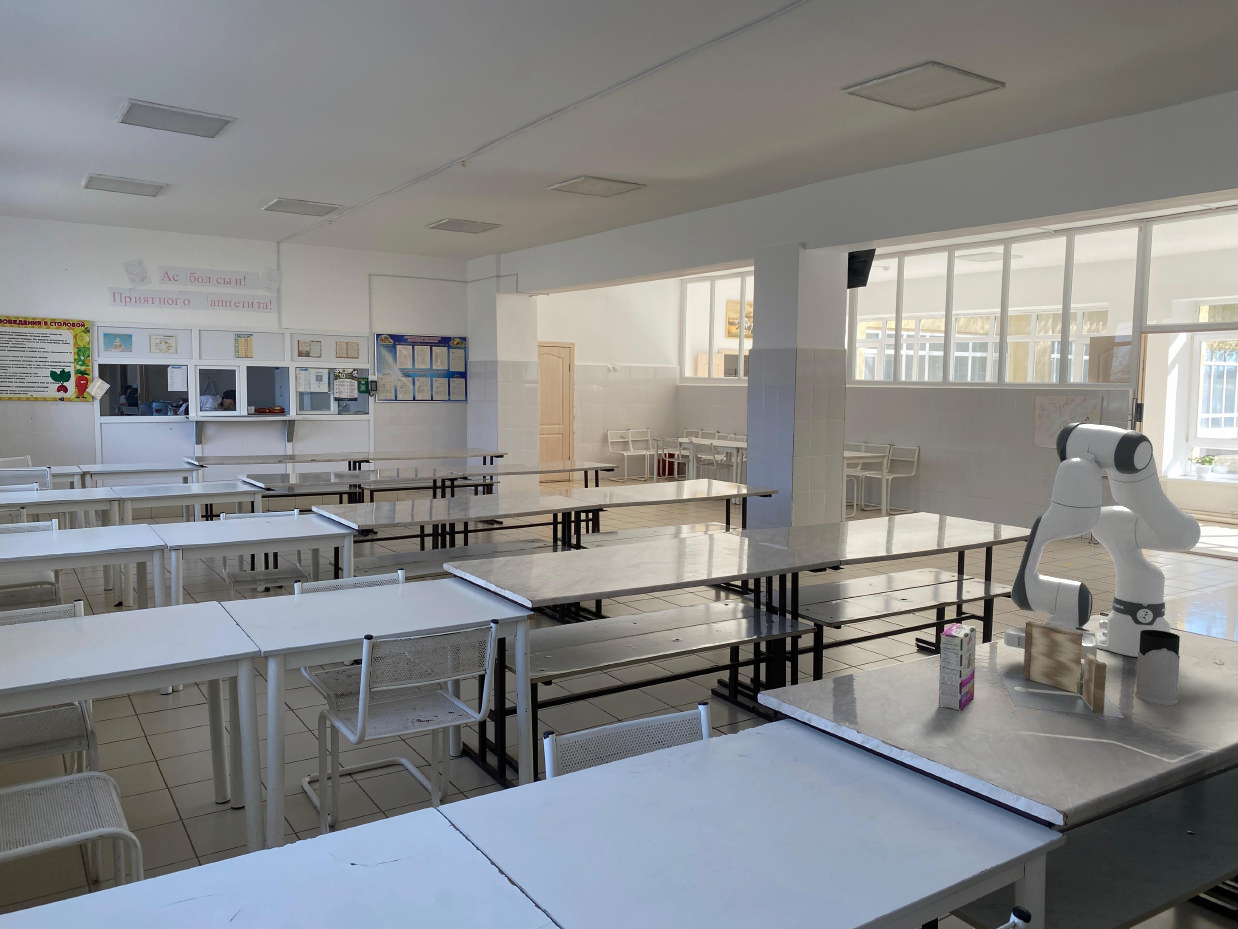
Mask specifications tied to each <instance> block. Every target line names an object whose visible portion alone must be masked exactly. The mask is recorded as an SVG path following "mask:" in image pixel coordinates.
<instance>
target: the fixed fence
mask: <svg viewBox="0 0 1238 929" xmlns="http://www.w3.org/2000/svg"><path fill="white" fill-rule="evenodd" d="M1083 660H1084V661H1083V662H1084V663H1083V679H1082V680H1083V681H1080V695H1082V696H1083V698H1084V699H1085V700H1086V701H1087V702H1088V704H1089V705H1090V706H1091V707H1092V708H1093V710H1092V711H1093V712H1094V713H1097V714H1104V699H1105V694H1106V682H1107V681H1106V677H1107V664H1106V662H1105V661H1104V662H1103V661H1102V662H1101V661H1100V660H1098V659H1097V657H1096V658H1095V657H1094V656H1093V655H1092V654H1091V653H1085V659H1083Z"/></svg>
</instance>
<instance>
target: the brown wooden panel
mask: <svg viewBox="0 0 1238 929" xmlns="http://www.w3.org/2000/svg"><path fill="white" fill-rule="evenodd" d="M1025 628H1026V630H1025V649H1024V653H1023V654H1024V655H1023V656H1024V657H1023V658H1024V659H1023V673H1022V674H1023V678H1025V679H1028V680H1033V681H1037V682H1040V683H1044V684H1047V685H1051V686H1054V687H1058V688H1061V689H1065V690H1068V691H1072V692H1075V693H1078V692H1080V680H1081V669H1082V659H1081V654H1082V637H1083V633H1079V632H1075V631H1071V630H1066V629H1062V628H1057V627H1053V626H1048V625H1044V624H1043V623H1039V622H1035V621H1026V622H1025Z"/></svg>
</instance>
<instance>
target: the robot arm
mask: <svg viewBox="0 0 1238 929" xmlns="http://www.w3.org/2000/svg"><path fill="white" fill-rule="evenodd" d="M1055 447H1056V452H1057V453H1056V454H1057V456H1058V458H1059V462H1060V464H1059V466H1058V468H1057V471H1056V474H1055V478H1054V482H1053V485H1052V486H1053V487H1052V492H1051V500H1050V501H1051V502H1050V505H1049V507H1048V509H1047V511H1046V512H1045V513H1044V514H1042V515H1038V516H1037V517H1036V519H1035V521H1034V522H1033V525H1032V526H1031V529H1030V533H1029V535H1028V539H1027V541H1026V544H1025V548H1024V551H1023V554H1022V558H1021V561H1020V565H1019V569H1018V570H1017V574H1016V577H1015V578H1014V581H1013V583H1012V584H1011V589H1010V596H1011V597H1010V598H1011V600H1012V602H1013V603H1014V604H1015V606H1017V607H1018V609H1020V610H1021V611H1027V612H1038V613H1041V614H1042V613H1043V614H1047V615H1051V616H1049V617H1047V619H1046V620H1045V621H1044V622H1043V623H1042V624H1044V625H1048V626H1053V627H1057V628H1062V629H1066V630H1071V631H1075V632H1079V633H1083V637H1082V654H1081V660H1084V659H1085V653H1091V654H1092V655H1093V656H1094V657H1095V658H1096V659H1097V654H1098V649H1101V650H1105V651H1110V652H1113V653H1116V654H1119V655H1123V656H1128V657H1135V658H1138V652H1139V647H1140V631H1142V630H1159V631H1166V632H1170V633H1171V624H1170V622H1168V621H1167V619H1166V618H1164V616H1165V615H1166V609H1167V608H1166V602H1165V601H1164V600H1165V599H1164V597H1165V583H1166V582H1165V581H1166V580H1165V579H1166V576H1165V574H1164V572H1163V570H1162V569H1161V568H1160V567H1158V566H1157V565H1156V564H1155V563H1152V562H1151V561H1149V560H1148V559H1147V558H1146V557H1145V555H1144V553H1143V550H1148V551H1149V550H1150V551H1157V552H1165V553H1181V552H1183V553H1184V552H1189V551H1191V550H1193V549H1194V548H1195V547H1196V546H1197V544H1198V543H1199V541H1200V539H1201V532H1202V531H1201V526H1200V524H1199V522H1198V520H1197V518H1195V516H1193V515H1192V514H1190V513H1187V512H1185V511H1184V510H1182V509H1181V508H1179V507H1178V506H1177V505H1176V504H1174V502H1172V501H1171V500H1170V499H1169V497H1168V496H1167V495H1166V494H1165V492H1164V490H1163V488H1162V484H1161V482H1160V477H1159V474H1158V469H1157V463H1156V459H1155V456H1154V453H1153V452H1154V450H1153V449H1154V447H1153V443H1152V441H1151V440H1150V439H1149V438H1148V436H1146V435H1145V434H1143V433H1142V432H1139V431H1137V430H1133V429H1124V428H1121V427H1116V426H1112V425H1111V426H1110V425H1102V424H1092V423H1091V424H1089V423H1085V422H1072V423H1068V424H1067V425H1065V426H1064V427H1063V428H1062V429H1061V430H1060V431H1059V433H1058V435H1057V437H1056V442H1055ZM1104 471H1106V475H1107V479H1108V485H1109V489H1110V493H1111V496H1112V499H1113V500H1114V501H1115V502H1116V503H1117V504H1118V505H1108V506H1102V504H1103V474H1104ZM1089 532H1091V534H1092V537H1093V538H1094V539H1095V540H1096V541H1097V542H1099V543H1100V544H1101V545H1102V546H1103V547H1104V549H1105V550H1106V552H1107V553H1108V554H1109V556H1110V559H1111V560H1112V562H1113V565H1114V570H1115V594H1114V596H1113V600H1112V606H1111V612H1110V613H1109V614H1108V615H1107V616H1106V618H1105V620H1100V621H1099V629H1100V630H1104V631H1102V632H1101V631H1100V632H1096V633H1095V631H1093V630H1089V629H1086V628H1084V626H1085V625H1086V624H1087V623H1088V622H1090V620H1091V619H1090V618H1091V615H1092V611H1093V604H1094V603H1093V594H1092V592H1091V590H1090V589H1089V587H1088V586H1087V585H1086V584H1085V583H1084V582H1082V581H1078V580H1073V579H1066V578H1061V577H1054V576H1050V575H1044V574H1041V573H1039V571H1038V568H1039V566H1040V565H1039V564H1040V561H1041V559H1042V556H1043V552H1044V549H1045V546H1046V545H1047V544H1049V543H1051V542H1054V541H1059V540H1065V539H1069V538H1070V539H1071V538H1075V537H1079V536H1083V535H1084V534H1087V533H1089ZM1025 630H1026V627H1018V626H1017V627H1011V628H1009V629H1006V630H1005V631H1004V637H1003V638H1004V639H1003V642H1004V643H1003V644H1004V645H1005V646H1007V647H1012V648H1016V649H1017V648H1018V649H1023V650H1025Z"/></svg>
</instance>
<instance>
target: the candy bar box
mask: <svg viewBox="0 0 1238 929" xmlns="http://www.w3.org/2000/svg"><path fill="white" fill-rule="evenodd" d="M976 633H977V626H974V625H969V624H962V623H954V624H952V625H951V626H950V627H948V628H947V629H946V630H944V631H943V632H942V633H940V634H939V635H940V640H939V641H940V644H939V645H940V647H939V649H940V650H939V684H938V685H939V688H938V692H939V694H938V706H939V707H940V706H943V707H942V708H944V707H947V708H946V709H949V708H950V709H949V710H954V709H955V711H961V712H962V710H963V709H964V707H966V706H967V704H969V703H970V701H972V700H973V698H975V673H976V671H975V670H976V641H977V640H976V638H977V636H976V635H977V634H976ZM965 705H966V706H965Z"/></svg>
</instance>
